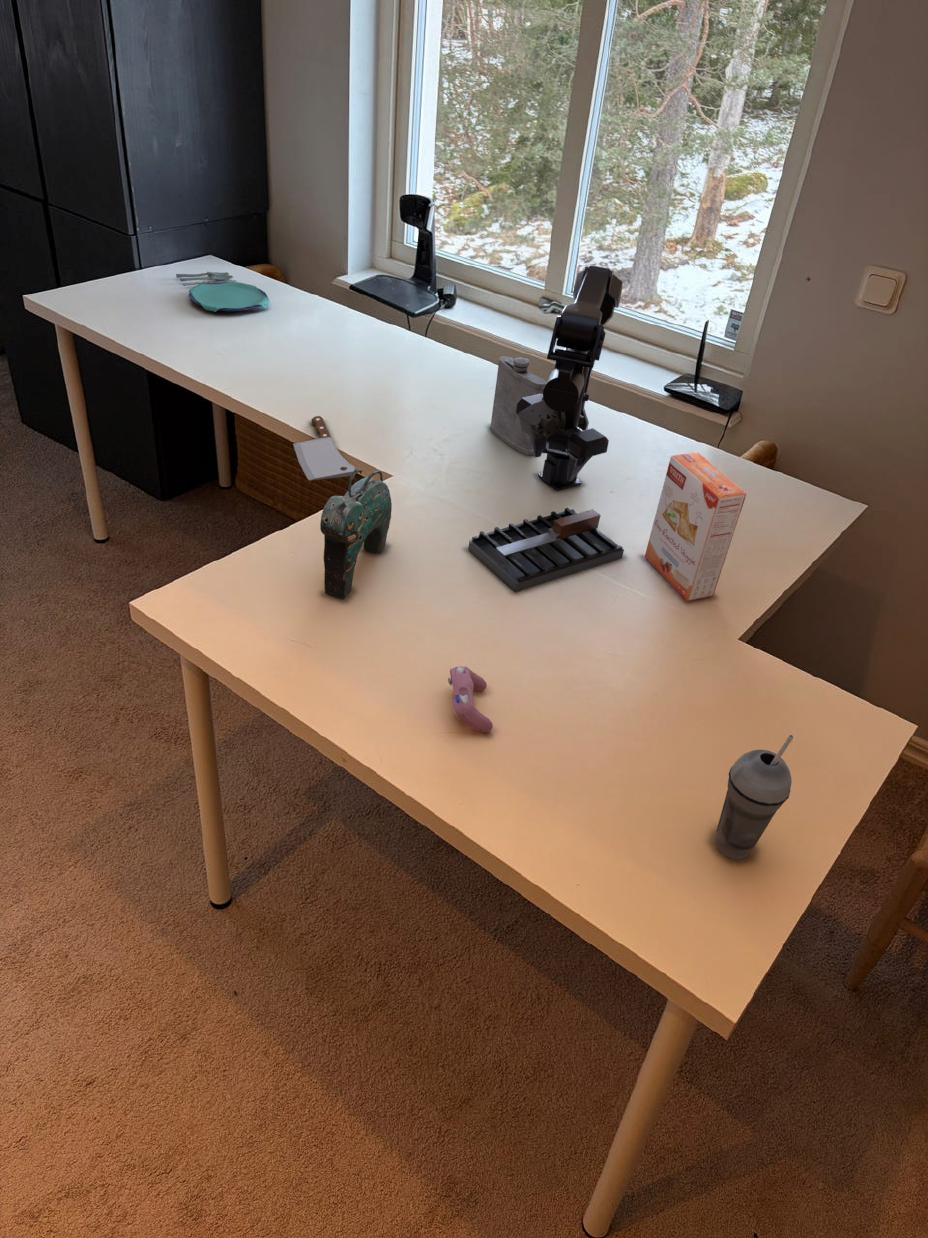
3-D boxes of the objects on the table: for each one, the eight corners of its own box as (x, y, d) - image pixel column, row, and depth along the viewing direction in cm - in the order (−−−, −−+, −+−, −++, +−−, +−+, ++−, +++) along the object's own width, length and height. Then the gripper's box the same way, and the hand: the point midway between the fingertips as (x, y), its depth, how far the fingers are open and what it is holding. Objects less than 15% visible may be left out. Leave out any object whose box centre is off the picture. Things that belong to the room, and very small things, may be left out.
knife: (589, 521, 172) (592, 508, 170) (598, 528, 170) (601, 515, 169) (495, 549, 162) (497, 535, 160) (504, 556, 160) (506, 542, 158)
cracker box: (641, 557, 170) (669, 453, 158) (669, 553, 172) (699, 450, 160) (685, 603, 160) (718, 495, 148) (714, 597, 163) (749, 491, 150)
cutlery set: (203, 320, 236) (202, 310, 235) (168, 279, 256) (167, 270, 254) (279, 313, 245) (279, 304, 243) (239, 274, 265) (239, 266, 263)
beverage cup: (717, 813, 123) (762, 700, 111) (769, 842, 120) (822, 728, 108) (694, 848, 118) (739, 733, 106) (749, 878, 115) (801, 764, 103)
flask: (523, 456, 196) (536, 374, 185) (484, 427, 205) (494, 347, 194) (537, 453, 198) (551, 372, 187) (498, 424, 207) (509, 344, 196)
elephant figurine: (345, 607, 150) (349, 498, 137) (308, 596, 151) (309, 486, 139) (396, 546, 165) (403, 443, 153) (362, 536, 166) (367, 433, 154)
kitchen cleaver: (283, 418, 196) (331, 414, 199) (283, 423, 197) (331, 418, 200) (305, 478, 179) (357, 472, 182) (306, 483, 179) (357, 477, 182)
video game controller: (459, 694, 138) (441, 661, 134) (488, 684, 138) (471, 651, 134) (464, 743, 131) (446, 709, 127) (495, 732, 130) (478, 698, 126)
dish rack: (573, 519, 178) (575, 504, 176) (622, 558, 169) (626, 543, 168) (467, 549, 166) (469, 534, 164) (515, 592, 158) (517, 577, 156)
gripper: (497, 372, 161) (486, 454, 171) (566, 419, 150) (551, 503, 159) (547, 362, 167) (534, 441, 176) (618, 406, 155) (600, 489, 165)
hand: (553, 468), depth 169 cm, fingers open, 9 cm apart
